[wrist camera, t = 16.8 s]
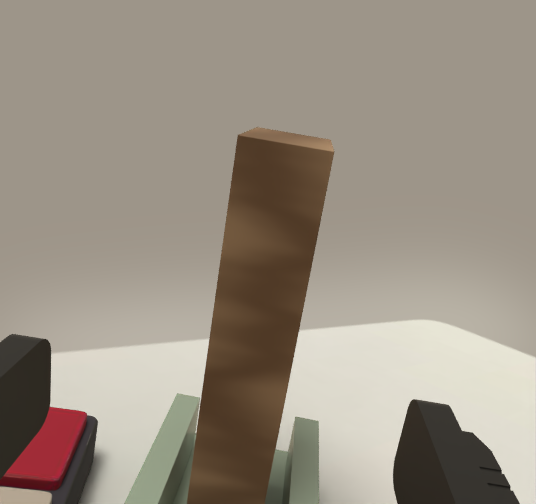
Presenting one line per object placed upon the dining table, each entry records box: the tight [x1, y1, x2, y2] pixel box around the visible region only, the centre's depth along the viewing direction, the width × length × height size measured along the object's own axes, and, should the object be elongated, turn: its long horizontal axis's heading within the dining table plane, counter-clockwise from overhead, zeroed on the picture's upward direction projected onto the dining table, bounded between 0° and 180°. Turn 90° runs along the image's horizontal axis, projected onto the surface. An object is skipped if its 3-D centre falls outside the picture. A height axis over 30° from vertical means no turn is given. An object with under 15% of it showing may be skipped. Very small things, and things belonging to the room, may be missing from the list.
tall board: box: [187, 127, 334, 504], centre depth 20 cm, size 3×5×17 cm, turn 174°
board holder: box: [124, 393, 319, 504], centre depth 23 cm, size 8×10×4 cm
